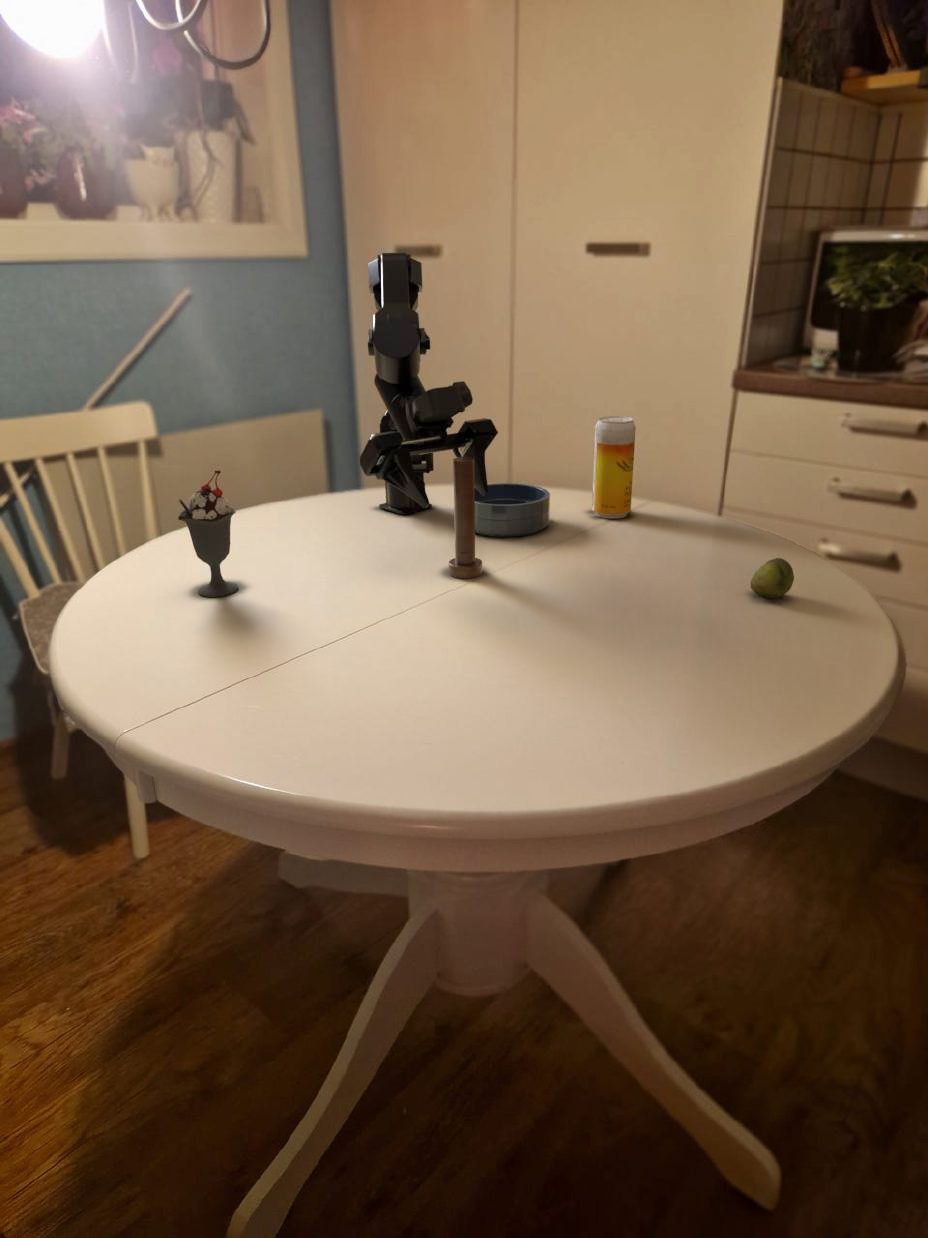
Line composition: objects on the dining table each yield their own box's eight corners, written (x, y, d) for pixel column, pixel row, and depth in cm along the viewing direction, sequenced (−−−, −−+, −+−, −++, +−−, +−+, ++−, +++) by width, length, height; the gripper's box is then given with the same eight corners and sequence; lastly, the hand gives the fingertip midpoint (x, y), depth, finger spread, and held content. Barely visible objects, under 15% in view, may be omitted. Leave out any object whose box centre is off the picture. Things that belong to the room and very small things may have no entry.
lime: (746, 600, 103) (750, 560, 101) (758, 588, 106) (763, 549, 104) (784, 607, 100) (790, 567, 98) (795, 594, 104) (801, 555, 102)
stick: (442, 572, 114) (438, 459, 108) (466, 564, 116) (464, 453, 110) (465, 580, 111) (463, 464, 105) (489, 572, 113) (488, 458, 108)
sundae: (255, 583, 111) (241, 468, 105) (225, 602, 105) (209, 480, 99) (211, 578, 113) (195, 464, 107) (180, 596, 107) (161, 477, 101)
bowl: (443, 526, 133) (442, 494, 131) (503, 508, 142) (503, 478, 140) (506, 544, 124) (506, 510, 122) (566, 524, 133) (567, 493, 131)
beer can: (633, 519, 135) (639, 422, 129) (594, 519, 135) (598, 422, 129) (627, 508, 140) (632, 415, 134) (589, 509, 140) (593, 415, 135)
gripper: (364, 367, 103) (418, 474, 99) (489, 355, 113) (542, 452, 109) (338, 424, 112) (386, 525, 108) (456, 409, 122) (504, 501, 118)
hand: (457, 499), depth 111 cm, fingers open, 9 cm apart
